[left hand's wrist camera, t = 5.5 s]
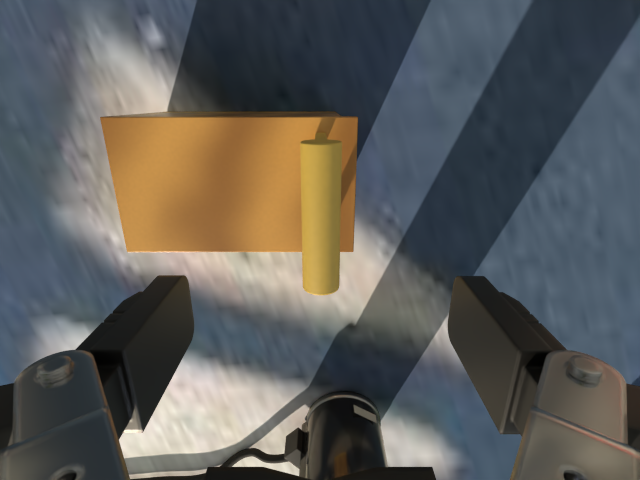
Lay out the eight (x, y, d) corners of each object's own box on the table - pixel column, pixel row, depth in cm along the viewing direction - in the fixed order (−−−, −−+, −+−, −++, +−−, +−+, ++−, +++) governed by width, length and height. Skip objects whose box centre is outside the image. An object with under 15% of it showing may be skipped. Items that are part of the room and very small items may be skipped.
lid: (356, 116, 25) (375, 124, 17) (352, 246, 29) (366, 309, 20) (109, 116, 25) (0, 124, 17) (134, 246, 29) (54, 309, 20)
